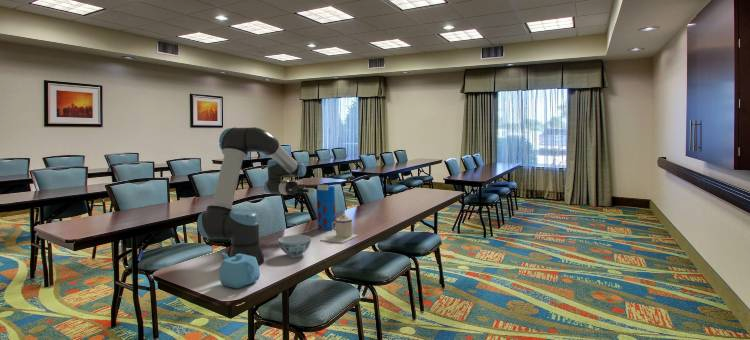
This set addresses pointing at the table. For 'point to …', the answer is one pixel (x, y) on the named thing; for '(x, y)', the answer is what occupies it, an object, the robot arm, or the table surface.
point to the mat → (337, 238)
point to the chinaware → (294, 244)
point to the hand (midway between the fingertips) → (321, 189)
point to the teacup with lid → (343, 226)
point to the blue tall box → (326, 208)
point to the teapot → (239, 270)
